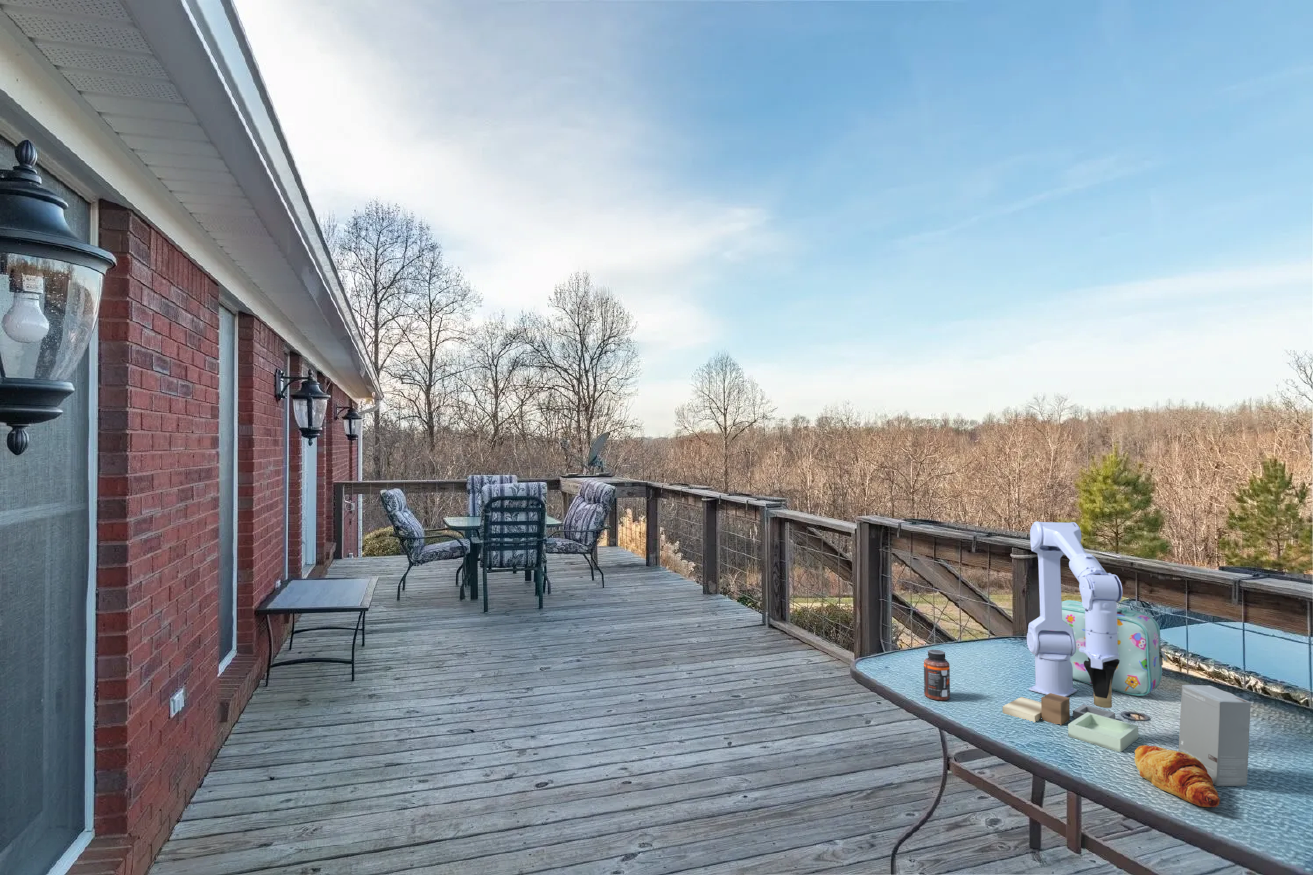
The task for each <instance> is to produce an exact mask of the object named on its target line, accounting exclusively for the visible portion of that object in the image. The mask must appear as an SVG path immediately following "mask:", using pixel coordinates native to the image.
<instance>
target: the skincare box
mask: <svg viewBox="0 0 1313 875" xmlns="http://www.w3.org/2000/svg"><path fill="white" fill-rule="evenodd" d="M1180 700H1181V701H1180V718H1179V734H1178V750H1177V751H1178V752H1184V753H1187V754H1189V755H1191V756H1193V757H1196V758H1197V759H1198V760H1199V761H1200V762H1202V763H1203V765H1204V766H1205V767H1206V769H1207V772H1208V774H1209V775H1210V777H1211V778H1212V781H1213V786H1216V787H1227V786H1228V787H1229V786H1230V787H1233V786H1235V787H1238V786H1239V787H1240V786H1241V787H1242V786H1247V785H1248V770H1249V769H1248V767H1249V750H1250V749H1249V746H1250V745H1249V744H1250V726H1251V706H1252V702H1251V701H1249V700H1246V699H1244V698H1241V697H1239V696H1237V695H1235V694H1233V693H1231V692H1229V691H1225V690H1222V689H1220V688H1217V687H1215V686H1212V685H1208V684H1207V685H1203V684H1201V685H1200V684H1199V685H1198V684H1182V685H1181V697H1180Z"/></svg>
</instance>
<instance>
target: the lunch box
mask: <svg viewBox="0 0 1313 875" xmlns="http://www.w3.org/2000/svg"><path fill="white" fill-rule="evenodd" d="M1062 620H1063V621H1065V622H1066V623H1068V624H1069V625H1070V626H1071V627H1072V628H1073V631H1074V638H1075V641H1076V652H1075V654H1074V655H1073V656H1072V657H1071V660H1070V661H1071V663H1072V667H1073V680H1076V681H1079V682H1082V683H1085V684H1088V685H1091V686H1092V682H1091V679H1090V676H1089V674H1088V672H1087V670H1086V668H1085V666H1084V661H1085V660H1086V661H1089V660H1088V656H1087V655H1086V654H1085V653H1083V652H1079V648H1080V647H1084V648H1086V640H1085V608H1084V607H1083V605H1082V601H1079V600H1078V601H1077V600H1073V599H1072V600H1064V601H1063V600H1062ZM1051 631H1055V630H1051ZM1117 640H1118V653H1119V658H1118V660H1120V663H1119V664H1118V666H1117V667H1116V670H1115V672H1114V676H1113V681H1112V691H1115V692H1118V693H1121V694H1126V695H1130V696H1138V697H1139V696H1140V697H1142V696H1143V697H1144V696H1147V695H1149V694H1151V692H1152V691H1153V690H1156V689H1157V688H1158V686H1159V685H1160V682H1161V680H1162V674H1163V665H1164V662H1166V661H1168V658H1167V655H1166V654H1165V650H1163V646H1162V645H1161V629H1160V626H1159V624H1158V622H1157V621H1156V619H1154V618H1153V616H1151V615H1149V614H1147V613H1145V612H1142V611H1140V610H1139V611H1138V610H1133V609H1129V608H1127V607H1126V606H1125V607H1122V608H1120V607H1117ZM1163 661H1164V662H1163Z"/></svg>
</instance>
